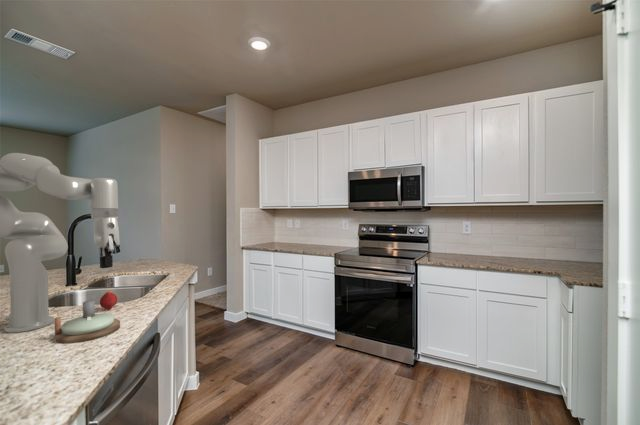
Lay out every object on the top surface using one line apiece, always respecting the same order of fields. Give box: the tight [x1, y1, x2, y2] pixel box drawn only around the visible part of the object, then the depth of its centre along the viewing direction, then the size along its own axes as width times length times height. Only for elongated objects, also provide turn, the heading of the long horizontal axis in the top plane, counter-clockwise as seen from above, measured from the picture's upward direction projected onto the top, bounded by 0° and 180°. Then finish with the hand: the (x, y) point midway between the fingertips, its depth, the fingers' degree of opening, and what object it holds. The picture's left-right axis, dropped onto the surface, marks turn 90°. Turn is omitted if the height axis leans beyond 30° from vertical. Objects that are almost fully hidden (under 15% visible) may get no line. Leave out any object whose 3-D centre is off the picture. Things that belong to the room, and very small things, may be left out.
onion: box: [99, 289, 118, 311], centre depth 121 cm, size 6×6×8 cm
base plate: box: [54, 316, 121, 344], centre depth 98 cm, size 17×17×6 cm
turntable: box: [61, 300, 115, 335], centre depth 98 cm, size 14×14×7 cm
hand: (106, 267), depth 102 cm, fingers closed
